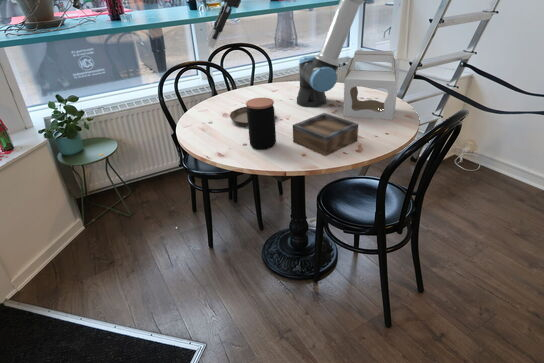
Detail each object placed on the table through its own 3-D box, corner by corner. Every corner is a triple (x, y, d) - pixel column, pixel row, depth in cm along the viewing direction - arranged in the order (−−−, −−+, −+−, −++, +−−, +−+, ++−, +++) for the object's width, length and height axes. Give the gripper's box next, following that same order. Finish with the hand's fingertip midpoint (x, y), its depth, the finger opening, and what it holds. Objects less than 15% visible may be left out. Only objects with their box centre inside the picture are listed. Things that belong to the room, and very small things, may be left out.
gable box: (342, 116, 173) (344, 53, 159) (348, 106, 183) (350, 47, 169) (392, 120, 165) (399, 55, 151) (395, 110, 176) (402, 48, 162)
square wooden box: (324, 129, 161) (324, 112, 157) (357, 141, 149) (358, 123, 145) (293, 142, 152) (292, 124, 148) (325, 156, 139) (326, 137, 136)
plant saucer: (269, 129, 166) (268, 122, 164) (224, 128, 170) (223, 121, 168) (277, 112, 183) (277, 105, 181) (237, 111, 187) (236, 105, 185)
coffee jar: (279, 140, 154) (277, 98, 145) (271, 151, 145) (268, 107, 136) (255, 138, 157) (251, 96, 148) (245, 149, 149) (241, 105, 139)
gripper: (223, -12, 157) (201, 35, 164) (226, -11, 136) (201, 43, 143) (239, -2, 160) (217, 44, 167) (245, 0, 138) (219, 53, 145)
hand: (209, 44), depth 155 cm, fingers open, 13 cm apart
